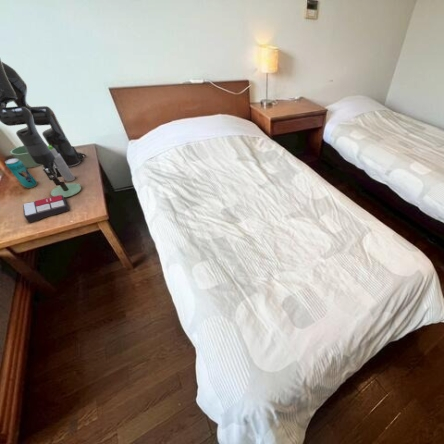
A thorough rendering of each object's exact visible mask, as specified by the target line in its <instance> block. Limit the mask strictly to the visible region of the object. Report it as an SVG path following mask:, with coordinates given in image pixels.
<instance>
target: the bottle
mask: <svg viewBox="0 0 444 444" xmlns="http://www.w3.org/2000/svg"><path fill="white" fill-rule="evenodd" d="M47 146H48V148H49V149H50V151H51V152H52V154H53V155H54V157H55V160H54V161H55V163H56V164H57V166H58V167H57V168H58V170H59V172H60V173H61V175H62V177H63V179H64V181H65V182H72V181H74V180H75V178H76V177H75V176H74V174H73V173H72V171H71V169H70V167H68V166H67V164H66V163H65V161H64V160H63V158H62V157H61V155H60V154H59V153H57V151H56V150H55V148H53V147H52V146H51V145H49V144H48V145H47Z"/></svg>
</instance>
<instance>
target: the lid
mask: <svg viewBox="0 0 444 444" xmlns="http://www.w3.org/2000/svg"><path fill="white" fill-rule="evenodd" d="M60 182H61V185H59V186H56V187H54V188H53V189H52V190H51V191H50V195H51V197H54V196H58V195H63V197H64V198H65V199H66V198H70V197H72V196H75V195H77V194H78V193H80V192H81V190H82V186H81V184H80V183H76V182H70V183H69V182H68V183H66V182H65V181H60Z"/></svg>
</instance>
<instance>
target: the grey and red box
mask: <svg viewBox="0 0 444 444" xmlns="http://www.w3.org/2000/svg"><path fill="white" fill-rule="evenodd" d="M22 210H23V217H24V218H25V219H26V220H27V222H28V223H32V222H36V221H40V220H41V219H43V218H46V217H51V216H55V215H58V214H62V213H66V212H69V211H70V209H69V205H68V203H67V199H66V198H64V197H63V195H58V196H54V197H53V196H51V197H46V198H41V199H38V200H34V201H31V202H27V203H23V204H22Z"/></svg>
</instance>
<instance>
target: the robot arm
mask: <svg viewBox="0 0 444 444" xmlns="http://www.w3.org/2000/svg"><path fill="white" fill-rule="evenodd" d="M27 86H28V85H27V84H26V82H25V81H24V79H23V78H22V76H21V75H20V74H19V73H18V72H17V71H16V70H15V68H12V67H11V66H10V65H9V64H7V63H5V62H3V61H2V59H1V58H0V122H1V123H2V125H4V126H5V125H6V126H8V127H13V126H23V125H26V127H24V128H20V129H18V130H17V131H16V133H15V135H16V136H17V138H18V139H19V141H20V142H21V144H22V146H25V148H26V150H27V151H28V153H29V154H30V156H31V157H32V159H33V160H34V161H35V163H37V164H42V165H41V166H42V168H43V169H42V171H43V172H44V173H45V175H46V176H47V178H48V180H49V181H52V182H53V183H54V185H55V186H56V187H58V186H60V185H61V182H62V181H61V180H60V179H59V178H62V177H63V176H62V174H61V173H60V171H59V170H58V168H57V167H58V166H57V164H56V163H55V161H54V160H55V157H54V155H53V154H52V152H51V151H50V149H49V148H48V146H49V145H51V146H52V147H53V148H55V150H56V151H57V153H59V154H60V155H61V157H62V158H63V160H64V161H65V163H66V164H67V166H68V168H73V167H75V166H78V165H80V164H81V162H82V159H83V158H85V157H87V155H86V154H85V153H82V152H78V151H77V150H76V148H75V146H73V145H72V144H71V143H70V141H69V139H68V137H67V135H66V134H65V132H64V130H63V128H62V126H61V123H60V122H59V120H58V118H57V116H56V114H55V112H54V111H53V110H52V108H51V107H49V106H47V105H41V106H31V105H29V103H28V101H27V96H28V95H27V94H28V87H27ZM12 102H13V103H14V104H15V105H16V106H9V107H8V106H7V105H8V104H9V103H12ZM36 126H38V127H39V126H41V127H42V126H50V127H49V128H48V129H45V130H43V132H42V136H41V135H40V133H39V131H38V129H37V127H36ZM42 137H43V138H44V139H43V138H42ZM44 140H45V141H46V143H45V141H44Z"/></svg>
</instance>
